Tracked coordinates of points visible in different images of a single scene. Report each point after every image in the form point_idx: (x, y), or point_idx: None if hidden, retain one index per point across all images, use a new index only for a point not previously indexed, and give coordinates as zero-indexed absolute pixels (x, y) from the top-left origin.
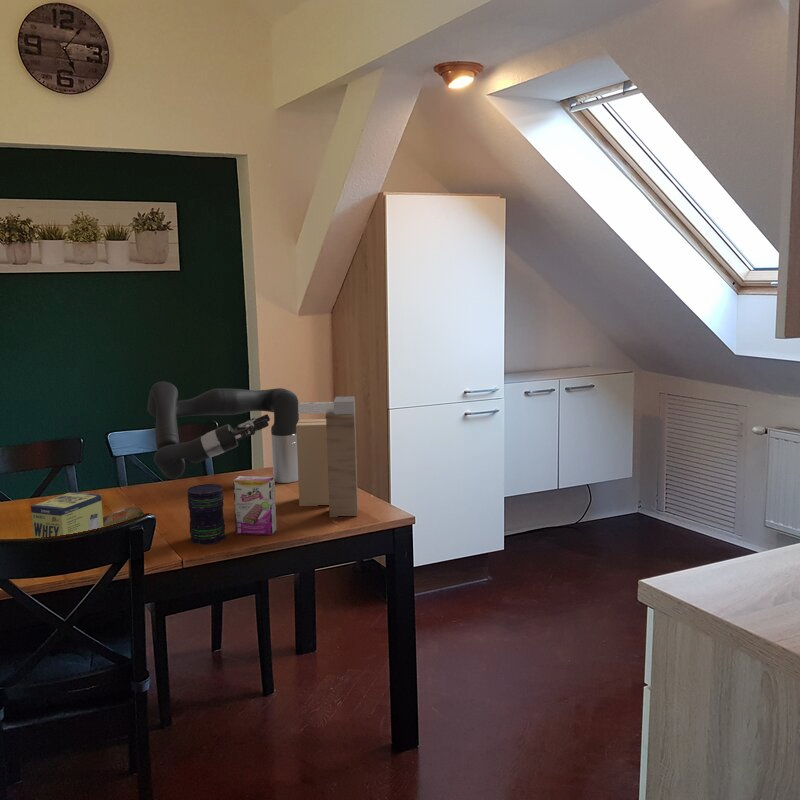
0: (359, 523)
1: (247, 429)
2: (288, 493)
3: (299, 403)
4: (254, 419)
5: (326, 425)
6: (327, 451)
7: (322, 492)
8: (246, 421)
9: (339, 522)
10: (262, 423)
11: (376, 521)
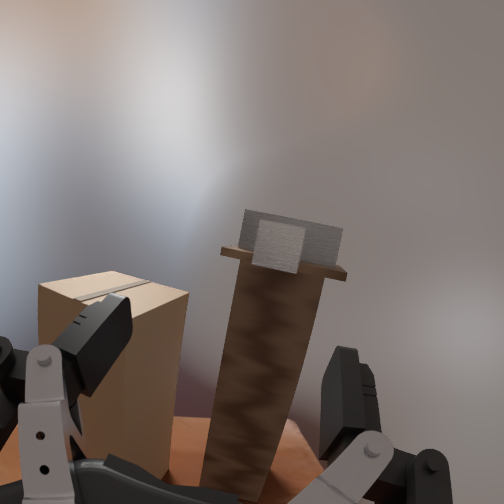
0: (309, 470)
1: (445, 494)
2: (6, 477)
3: (285, 224)
4: (61, 366)
5: (318, 303)
6: (298, 378)
7: (156, 467)
8: (30, 426)
9: (297, 494)
10: (371, 386)
11: (302, 450)
